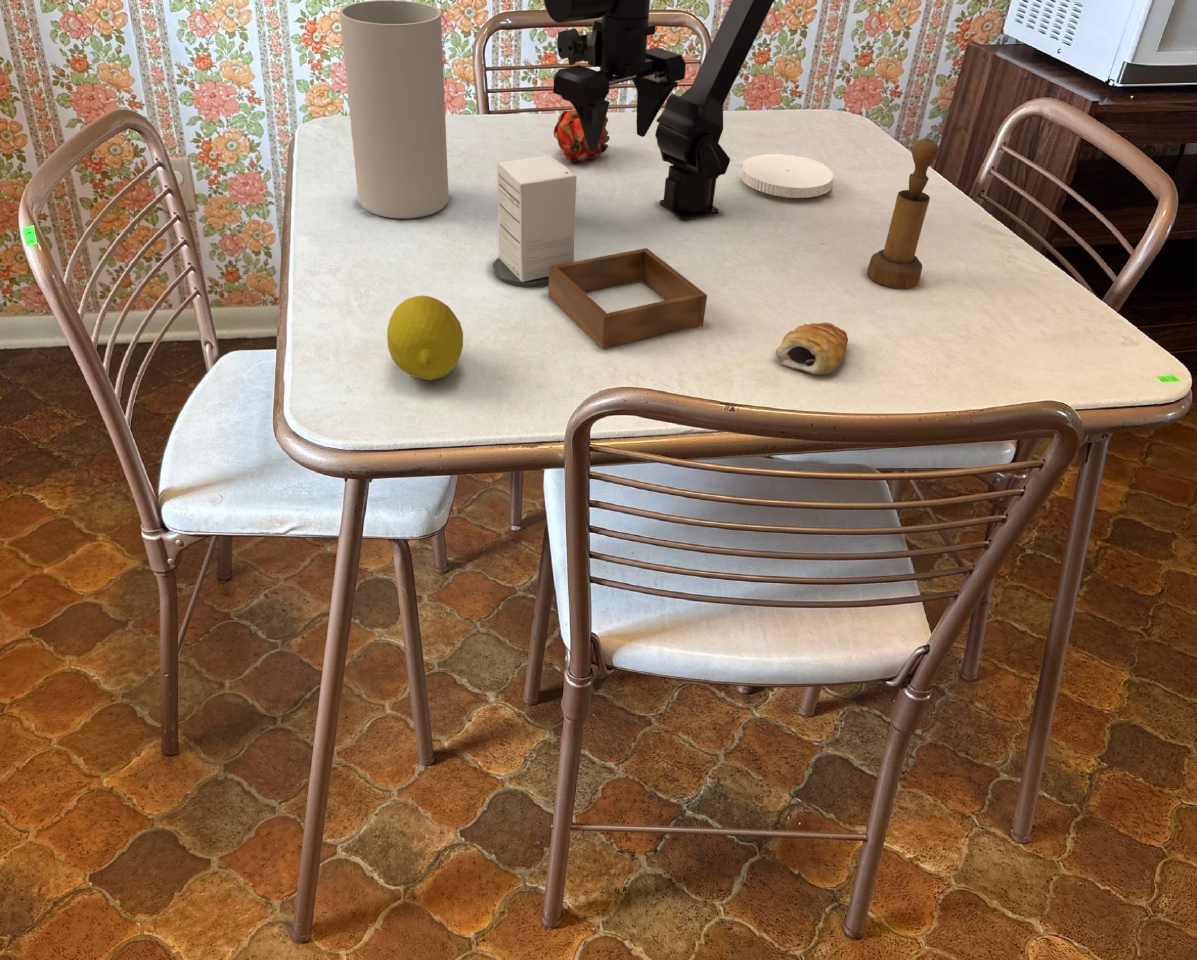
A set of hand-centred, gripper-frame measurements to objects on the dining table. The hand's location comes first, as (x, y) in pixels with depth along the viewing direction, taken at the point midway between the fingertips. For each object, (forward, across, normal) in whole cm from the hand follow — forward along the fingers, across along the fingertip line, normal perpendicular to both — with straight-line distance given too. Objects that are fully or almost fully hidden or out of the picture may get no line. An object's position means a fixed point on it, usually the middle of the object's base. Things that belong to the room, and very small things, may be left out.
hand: (617, 143), depth 129 cm
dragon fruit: (+12, -16, -22) cm, 30 cm away
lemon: (+12, +41, +12) cm, 45 cm away
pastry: (+12, +8, +38) cm, 41 cm away
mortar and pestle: (+12, -18, +34) cm, 40 cm away
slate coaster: (+12, +17, +2) cm, 21 cm away
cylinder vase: (+12, +16, -25) cm, 32 cm away
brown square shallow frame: (+12, +16, +17) cm, 26 cm away
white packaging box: (+12, +17, +2) cm, 20 cm away
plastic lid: (+12, -33, +6) cm, 35 cm away
